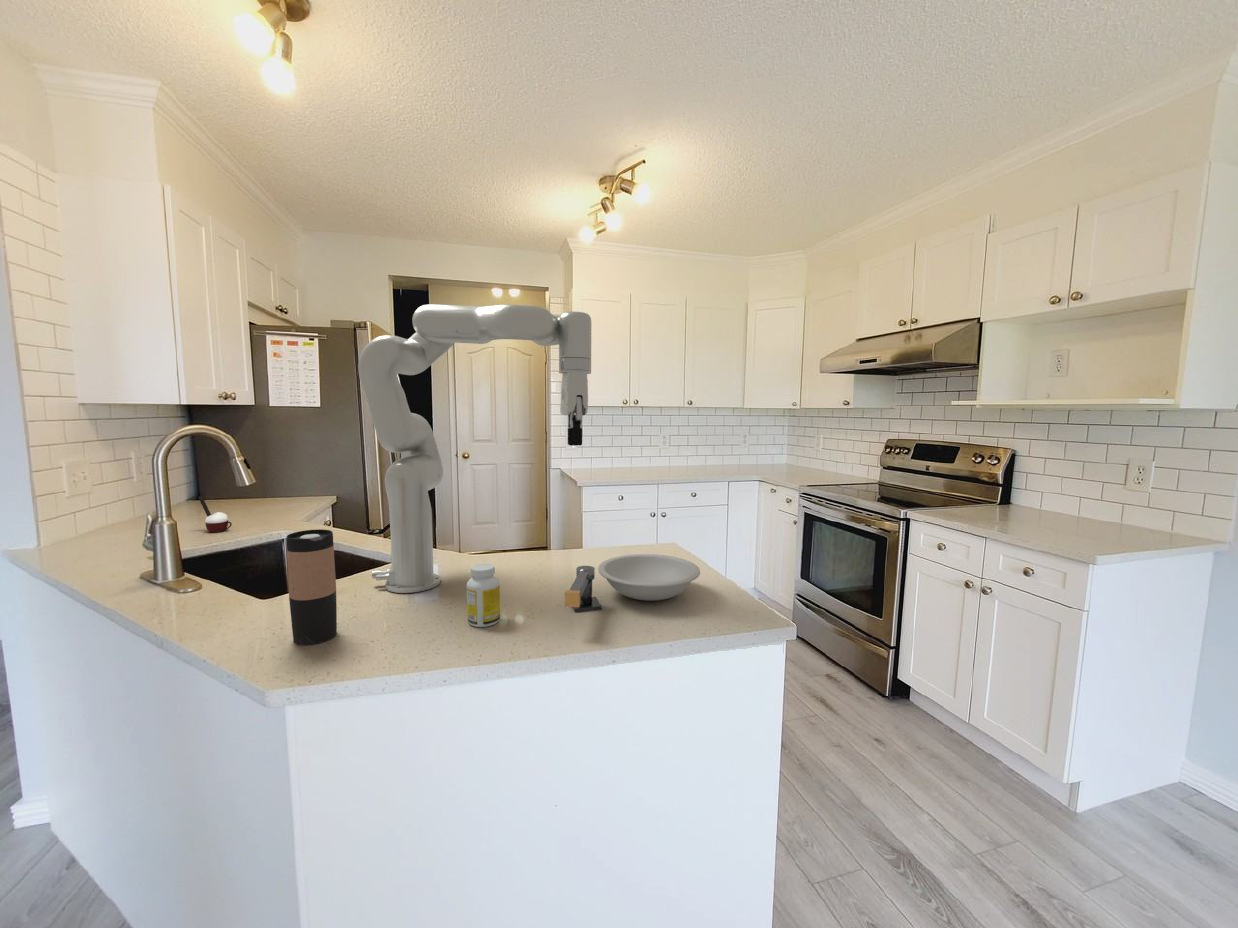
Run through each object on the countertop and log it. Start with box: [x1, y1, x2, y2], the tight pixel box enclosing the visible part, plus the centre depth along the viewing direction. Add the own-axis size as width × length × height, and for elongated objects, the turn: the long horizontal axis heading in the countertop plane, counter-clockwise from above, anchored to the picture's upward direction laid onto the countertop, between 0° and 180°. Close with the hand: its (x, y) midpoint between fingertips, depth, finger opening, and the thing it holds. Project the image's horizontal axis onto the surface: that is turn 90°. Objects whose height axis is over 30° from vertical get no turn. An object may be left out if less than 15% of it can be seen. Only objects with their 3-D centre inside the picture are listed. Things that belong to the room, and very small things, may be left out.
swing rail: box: [564, 565, 596, 608], centre depth 107 cm, size 18×4×3 cm, turn 175°
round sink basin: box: [597, 553, 701, 602], centre depth 122 cm, size 24×24×7 cm
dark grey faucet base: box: [571, 580, 603, 613], centre depth 114 cm, size 6×6×6 cm
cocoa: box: [198, 496, 233, 534], centre depth 177 cm, size 10×6×12 cm, turn 73°
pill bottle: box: [466, 563, 501, 628], centre depth 105 cm, size 6×6×12 cm
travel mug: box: [285, 529, 338, 646], centre depth 97 cm, size 8×8×20 cm
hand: (574, 445), depth 122 cm, fingers closed
